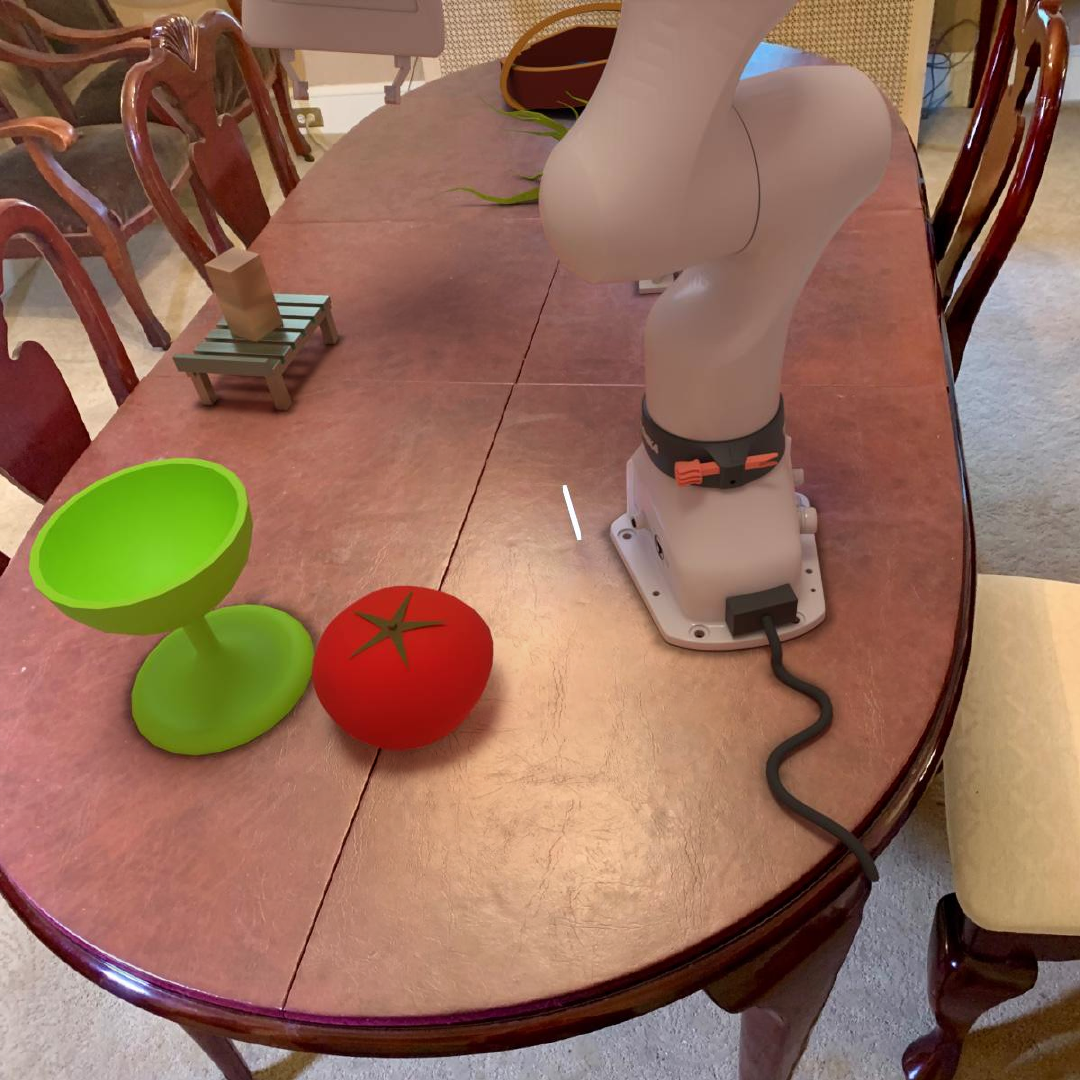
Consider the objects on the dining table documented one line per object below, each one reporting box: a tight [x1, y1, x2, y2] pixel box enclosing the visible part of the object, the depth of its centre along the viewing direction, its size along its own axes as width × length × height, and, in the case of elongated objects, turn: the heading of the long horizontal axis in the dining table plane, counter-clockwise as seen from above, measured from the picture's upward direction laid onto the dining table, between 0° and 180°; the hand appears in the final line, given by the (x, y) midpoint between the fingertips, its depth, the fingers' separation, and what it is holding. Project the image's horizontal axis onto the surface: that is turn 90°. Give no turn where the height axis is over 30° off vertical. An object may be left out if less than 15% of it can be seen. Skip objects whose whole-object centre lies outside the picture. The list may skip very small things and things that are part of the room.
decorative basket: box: [499, 1, 622, 111], centre depth 166 cm, size 34×29×15 cm
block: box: [203, 246, 283, 342], centre depth 109 cm, size 4×4×9 cm
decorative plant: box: [430, 91, 588, 205], centre depth 138 cm, size 18×30×15 cm, turn 61°
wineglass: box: [28, 457, 315, 756], centre depth 76 cm, size 16×16×18 cm
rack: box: [171, 293, 340, 411], centre depth 113 cm, size 17×12×8 cm
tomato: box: [311, 585, 495, 752], centre depth 74 cm, size 14×13×10 cm
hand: (347, 102), depth 98 cm, fingers open, 8 cm apart
